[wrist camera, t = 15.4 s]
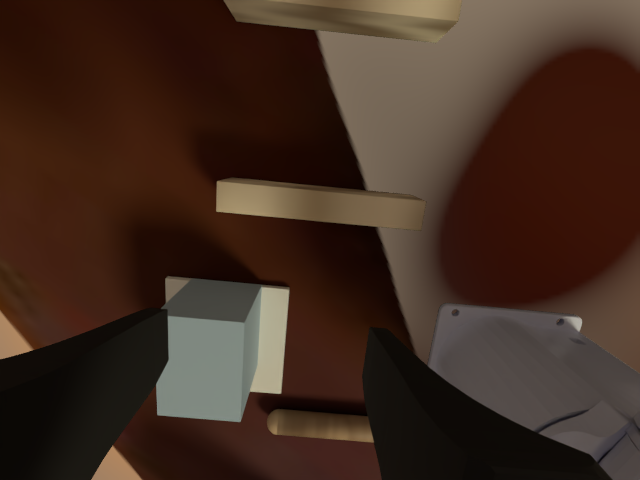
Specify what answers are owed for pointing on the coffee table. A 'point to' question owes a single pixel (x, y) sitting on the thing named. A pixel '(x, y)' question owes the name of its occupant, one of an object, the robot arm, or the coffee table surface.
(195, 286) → the block
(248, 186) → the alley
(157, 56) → the coffee table surface
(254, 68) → the coffee table surface
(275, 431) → the dowel
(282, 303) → the coaster
